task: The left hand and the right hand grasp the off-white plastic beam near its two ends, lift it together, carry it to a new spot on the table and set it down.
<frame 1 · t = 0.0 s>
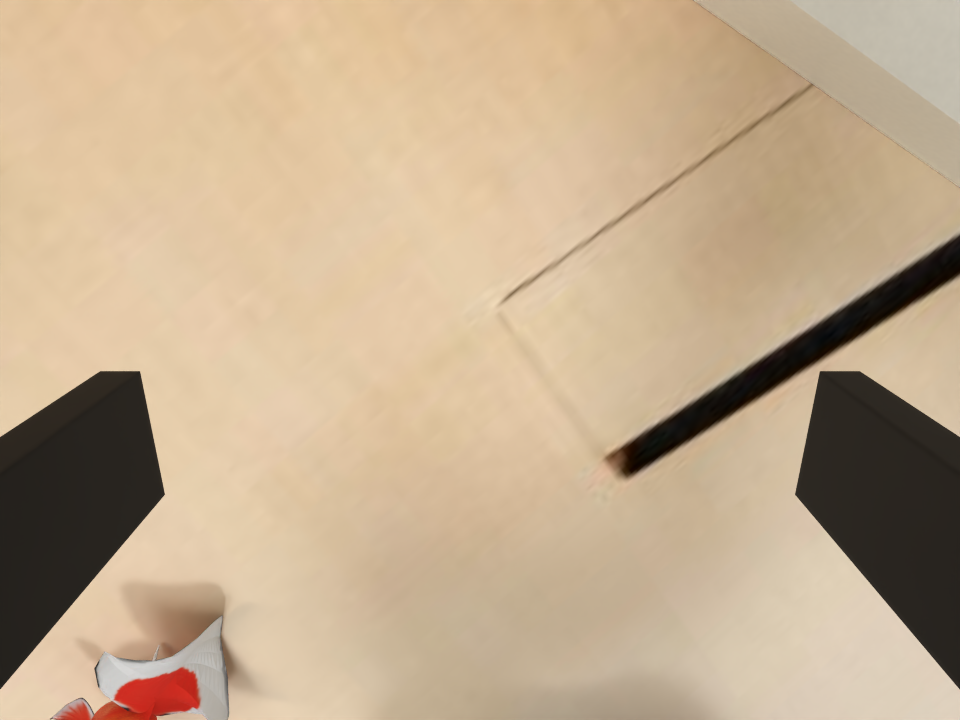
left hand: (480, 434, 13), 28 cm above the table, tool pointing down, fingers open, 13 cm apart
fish: (170, 656, 51), on the table
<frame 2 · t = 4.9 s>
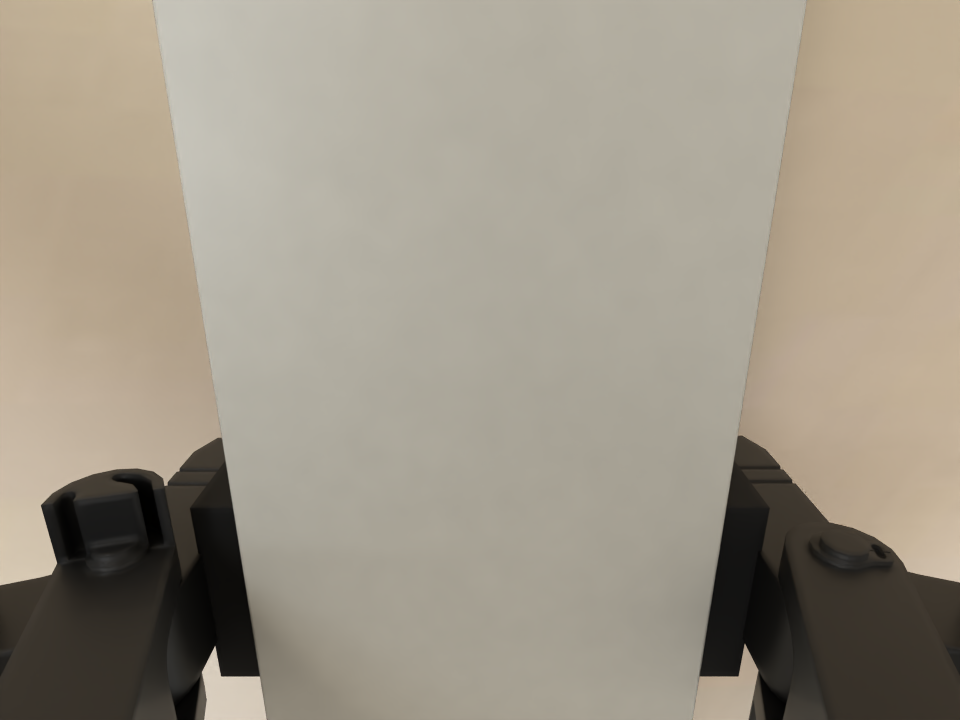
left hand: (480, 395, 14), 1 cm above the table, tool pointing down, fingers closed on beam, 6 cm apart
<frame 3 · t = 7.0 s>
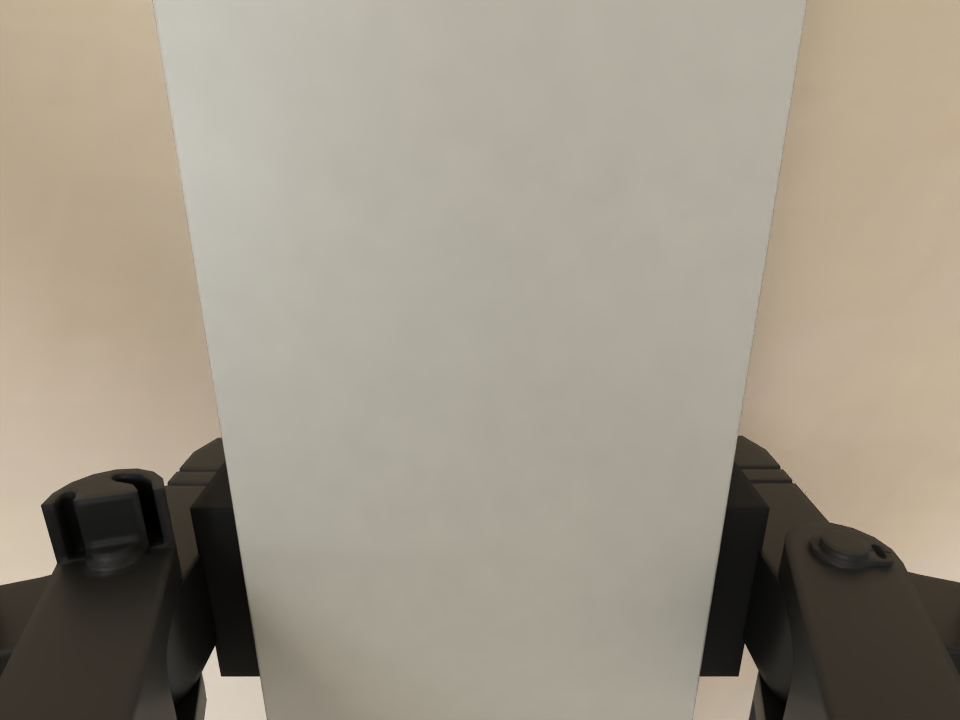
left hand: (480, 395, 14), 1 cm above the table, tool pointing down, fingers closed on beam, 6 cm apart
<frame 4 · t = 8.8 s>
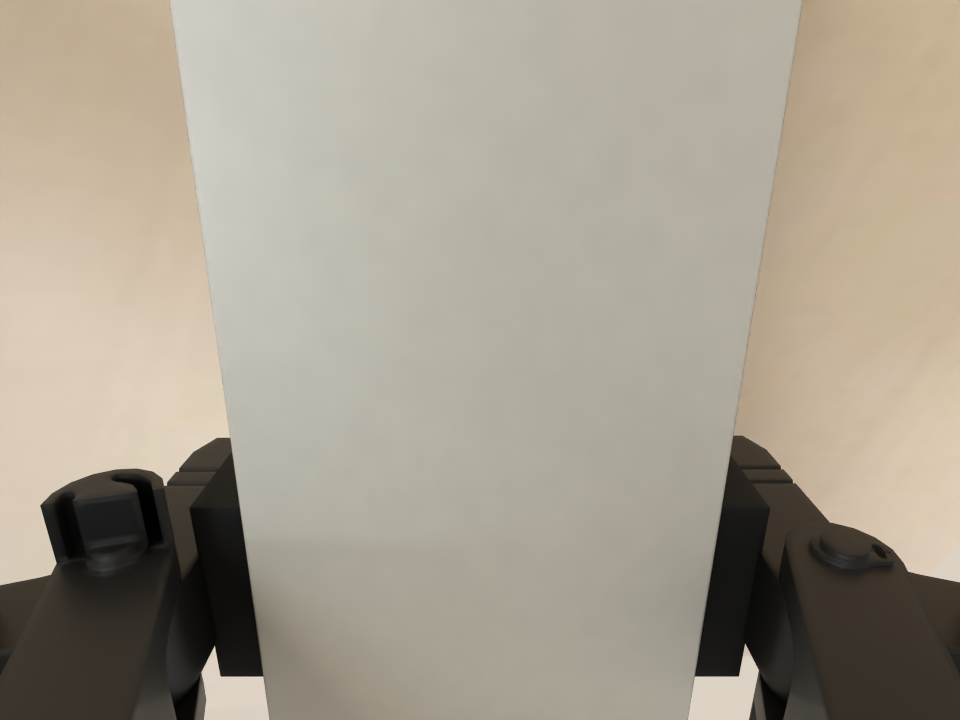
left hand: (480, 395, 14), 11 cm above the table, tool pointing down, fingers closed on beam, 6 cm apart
when the left hand's fingers open (2 cm above the table, at t = 13.0 s): beam drops 1 cm, on the table.
when the right hand's fingers open (4 cm above the table, at t = 13.2 s): beam stays where it is, on the table.
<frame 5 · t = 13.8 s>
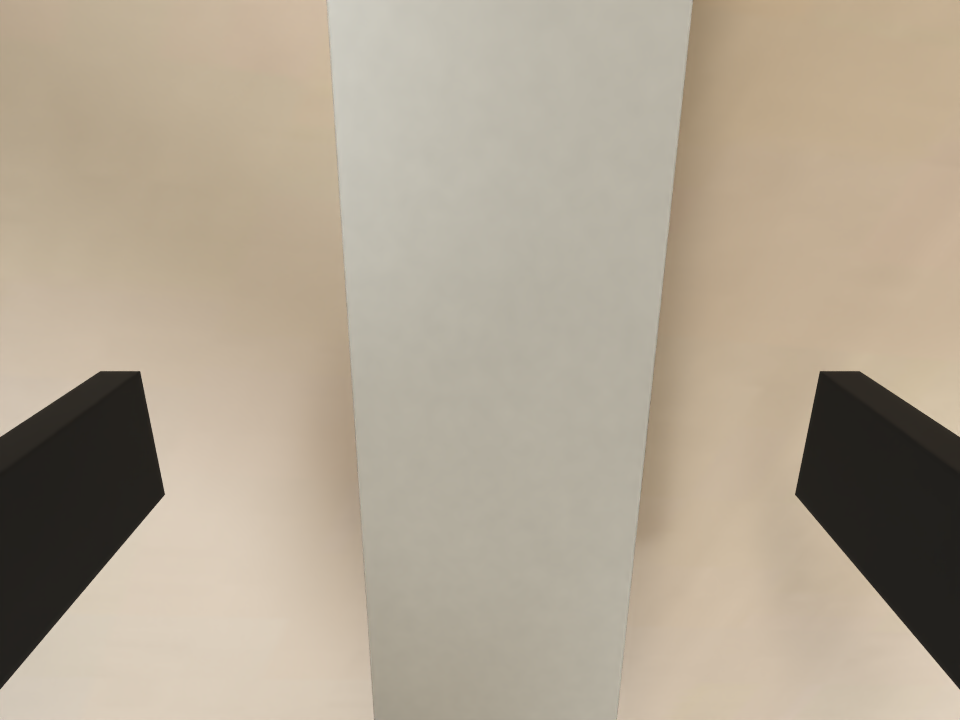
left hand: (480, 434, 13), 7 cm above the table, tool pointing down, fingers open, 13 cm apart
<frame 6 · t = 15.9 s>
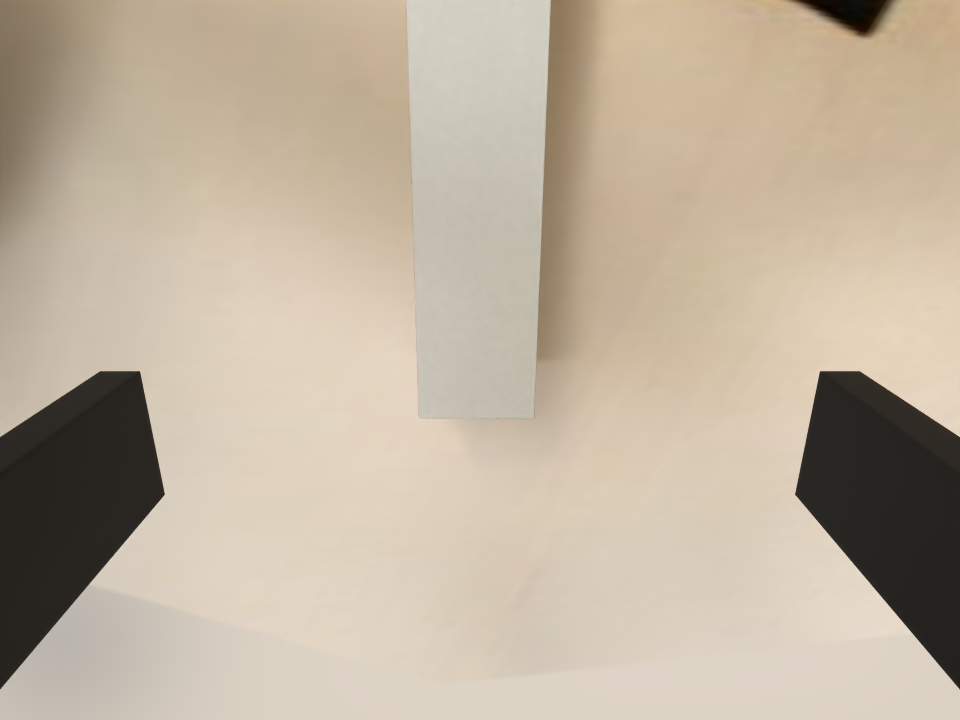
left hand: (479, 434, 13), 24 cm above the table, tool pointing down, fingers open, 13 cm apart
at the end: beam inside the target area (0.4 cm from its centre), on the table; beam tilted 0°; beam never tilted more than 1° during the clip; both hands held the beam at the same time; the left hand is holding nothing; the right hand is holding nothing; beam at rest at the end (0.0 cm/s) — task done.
